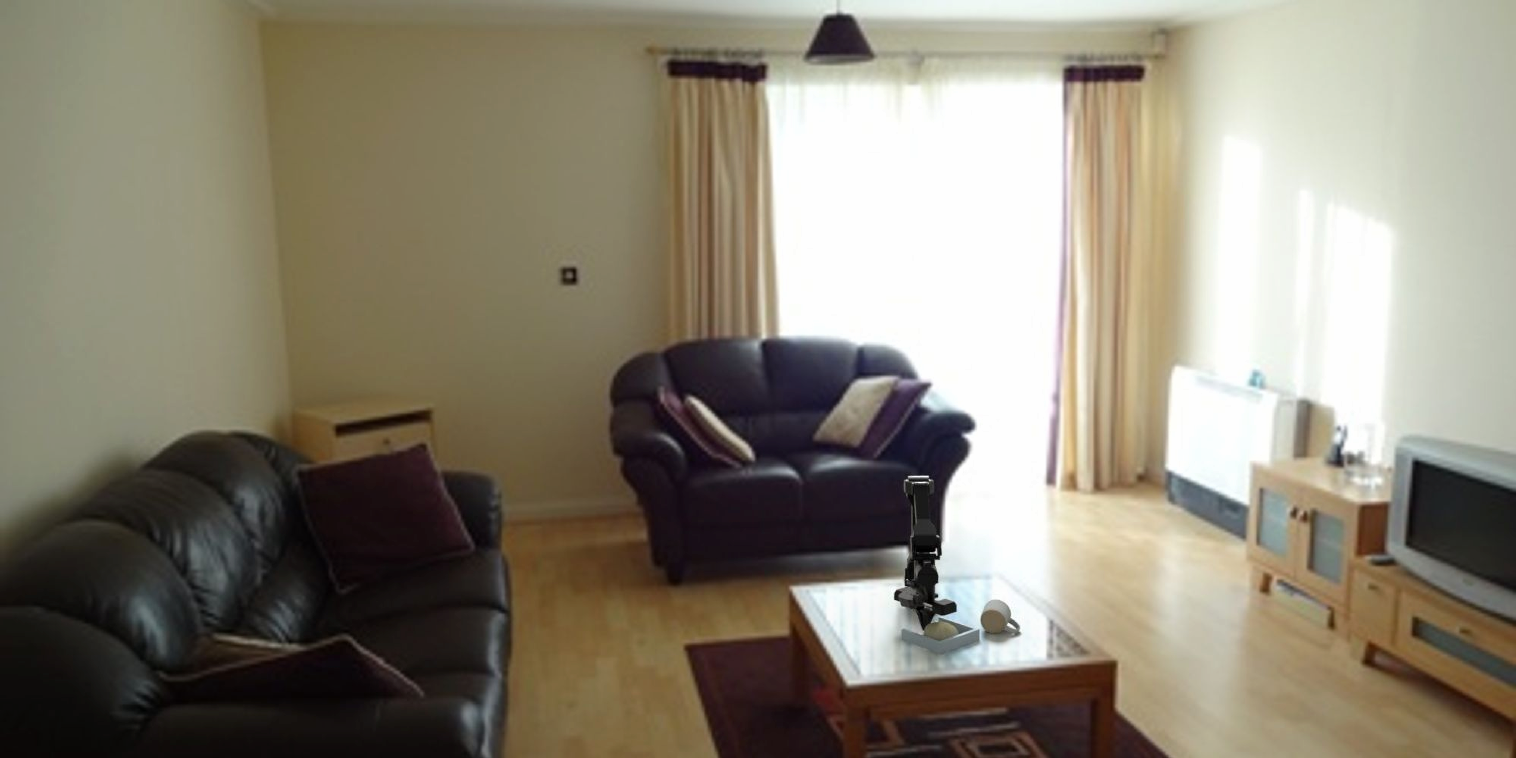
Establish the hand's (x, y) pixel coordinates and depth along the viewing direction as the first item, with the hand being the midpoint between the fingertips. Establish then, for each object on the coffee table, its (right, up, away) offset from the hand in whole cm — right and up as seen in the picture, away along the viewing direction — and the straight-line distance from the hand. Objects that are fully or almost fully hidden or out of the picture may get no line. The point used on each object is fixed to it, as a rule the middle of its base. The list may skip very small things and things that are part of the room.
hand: (924, 630), depth 294 cm
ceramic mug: (+21, -1, +2) cm, 22 cm away
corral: (+3, -1, -4) cm, 5 cm away
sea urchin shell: (+4, -2, -5) cm, 6 cm away
